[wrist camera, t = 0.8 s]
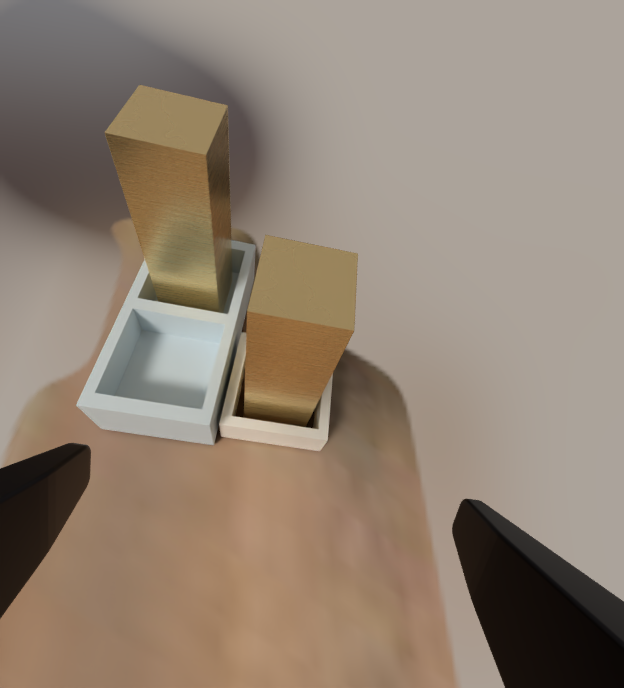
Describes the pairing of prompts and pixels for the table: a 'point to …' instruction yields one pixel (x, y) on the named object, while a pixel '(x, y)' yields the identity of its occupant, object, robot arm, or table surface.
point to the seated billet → (178, 192)
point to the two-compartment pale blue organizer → (169, 361)
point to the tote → (271, 430)
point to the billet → (296, 328)
